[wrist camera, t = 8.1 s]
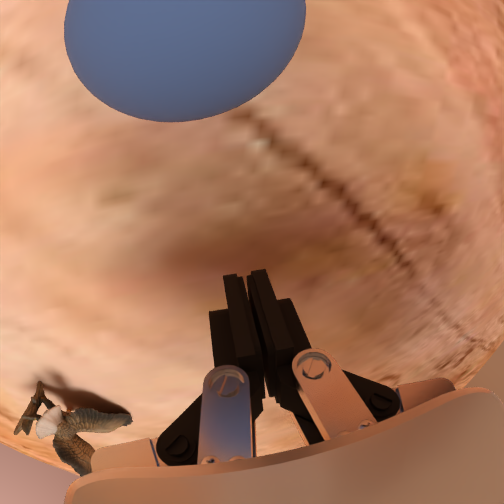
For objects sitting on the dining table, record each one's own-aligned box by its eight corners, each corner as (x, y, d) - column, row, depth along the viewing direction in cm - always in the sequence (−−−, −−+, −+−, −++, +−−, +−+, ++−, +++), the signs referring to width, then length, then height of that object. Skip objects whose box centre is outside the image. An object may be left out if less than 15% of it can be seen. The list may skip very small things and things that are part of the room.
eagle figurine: (22, 410, 16) (104, 459, 19) (4, 454, 10) (109, 510, 13) (55, 351, 18) (142, 409, 21) (36, 388, 12) (155, 457, 15)
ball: (378, -39, 2) (313, 146, 8) (280, -105, 3) (275, 21, 9) (-28, 65, 2) (112, 179, 8) (69, -59, 3) (125, 49, 9)
